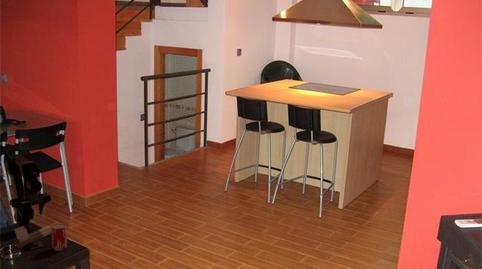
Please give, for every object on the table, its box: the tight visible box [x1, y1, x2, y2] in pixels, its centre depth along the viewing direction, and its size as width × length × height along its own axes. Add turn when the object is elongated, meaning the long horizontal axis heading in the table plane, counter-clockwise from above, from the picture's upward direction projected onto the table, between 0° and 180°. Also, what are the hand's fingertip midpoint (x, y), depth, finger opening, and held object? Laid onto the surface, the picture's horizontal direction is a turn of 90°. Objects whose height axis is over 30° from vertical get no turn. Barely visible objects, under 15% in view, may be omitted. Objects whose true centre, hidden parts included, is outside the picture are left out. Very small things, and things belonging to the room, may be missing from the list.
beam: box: [13, 225, 53, 249], centre depth 258 cm, size 6×18×2 cm, turn 129°
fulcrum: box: [26, 239, 45, 250], centre depth 259 cm, size 8×6×4 cm
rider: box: [13, 226, 29, 243], centre depth 254 cm, size 4×4×6 cm
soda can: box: [51, 223, 68, 252], centre depth 255 cm, size 7×7×12 cm
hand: (31, 216), depth 263 cm, fingers open, 9 cm apart
